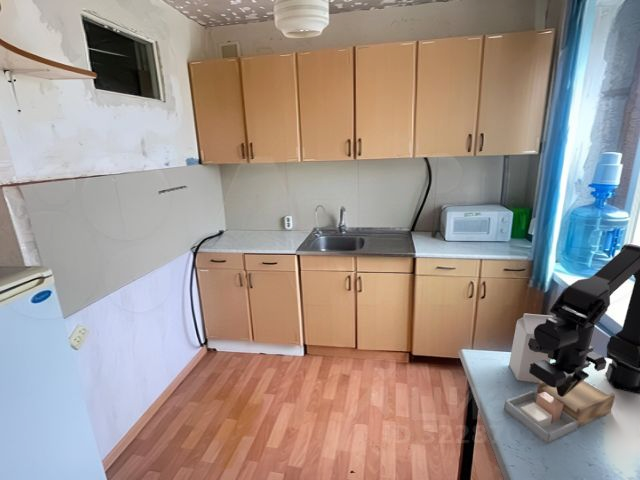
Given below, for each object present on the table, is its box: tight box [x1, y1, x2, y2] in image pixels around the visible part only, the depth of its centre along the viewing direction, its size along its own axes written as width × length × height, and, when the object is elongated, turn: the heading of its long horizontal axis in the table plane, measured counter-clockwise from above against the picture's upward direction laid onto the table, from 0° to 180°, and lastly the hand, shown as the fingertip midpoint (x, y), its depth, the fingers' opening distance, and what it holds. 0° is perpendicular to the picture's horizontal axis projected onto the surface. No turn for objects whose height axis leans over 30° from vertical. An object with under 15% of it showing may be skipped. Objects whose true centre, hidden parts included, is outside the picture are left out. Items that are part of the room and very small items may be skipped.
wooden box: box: [536, 380, 616, 428], centre depth 84 cm, size 13×10×5 cm
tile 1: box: [520, 403, 552, 428], centre depth 79 cm, size 4×4×2 cm
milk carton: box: [508, 313, 554, 384], centre depth 93 cm, size 7×7×19 cm
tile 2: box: [536, 392, 563, 423], centre depth 81 cm, size 4×4×2 cm
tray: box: [503, 390, 579, 445], centre depth 80 cm, size 10×11×2 cm
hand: (560, 395), depth 81 cm, fingers closed
